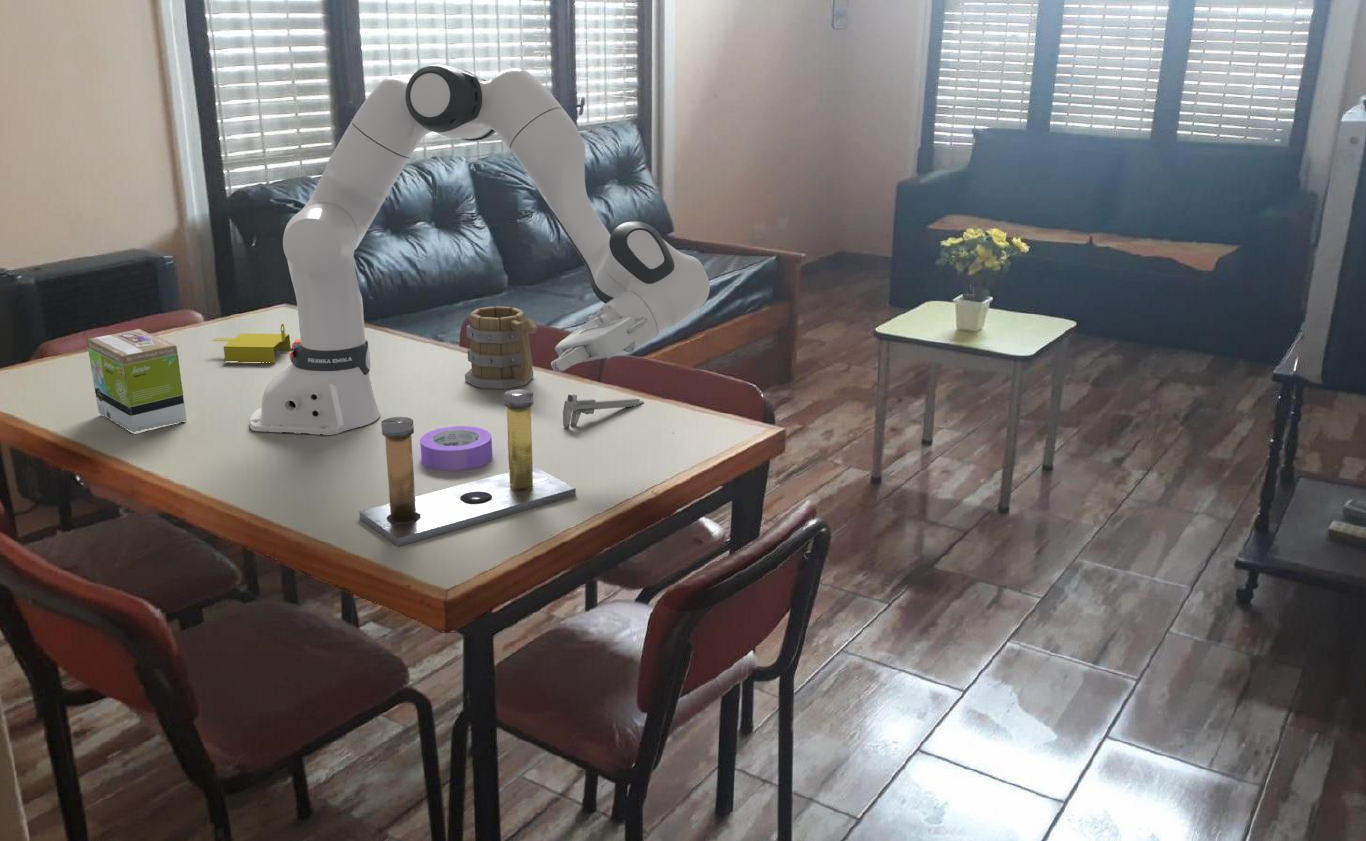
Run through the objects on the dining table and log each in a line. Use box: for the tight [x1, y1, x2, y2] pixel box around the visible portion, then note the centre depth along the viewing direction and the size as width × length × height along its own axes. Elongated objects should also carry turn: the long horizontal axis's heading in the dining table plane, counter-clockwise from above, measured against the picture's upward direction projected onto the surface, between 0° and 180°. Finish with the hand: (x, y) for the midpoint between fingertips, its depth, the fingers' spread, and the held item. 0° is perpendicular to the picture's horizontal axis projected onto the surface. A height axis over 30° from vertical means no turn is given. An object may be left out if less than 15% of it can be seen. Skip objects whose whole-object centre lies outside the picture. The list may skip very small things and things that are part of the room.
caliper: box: [562, 393, 645, 429], centre depth 221 cm, size 20×1×6 cm, turn 140°
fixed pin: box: [380, 416, 416, 522], centre depth 171 cm, size 4×4×15 cm
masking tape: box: [419, 425, 493, 472], centre depth 199 cm, size 12×12×4 cm
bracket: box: [212, 323, 292, 364], centre depth 254 cm, size 16×8×15 cm
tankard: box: [464, 305, 538, 390], centre depth 236 cm, size 20×13×15 cm, turn 37°
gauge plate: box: [358, 465, 577, 547], centre depth 180 cm, size 30×12×1 cm, turn 130°
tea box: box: [86, 328, 187, 432], centre depth 213 cm, size 15×10×15 cm, turn 47°
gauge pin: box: [503, 389, 534, 488], centre depth 183 cm, size 4×4×15 cm
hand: (555, 367), depth 186 cm, fingers closed
